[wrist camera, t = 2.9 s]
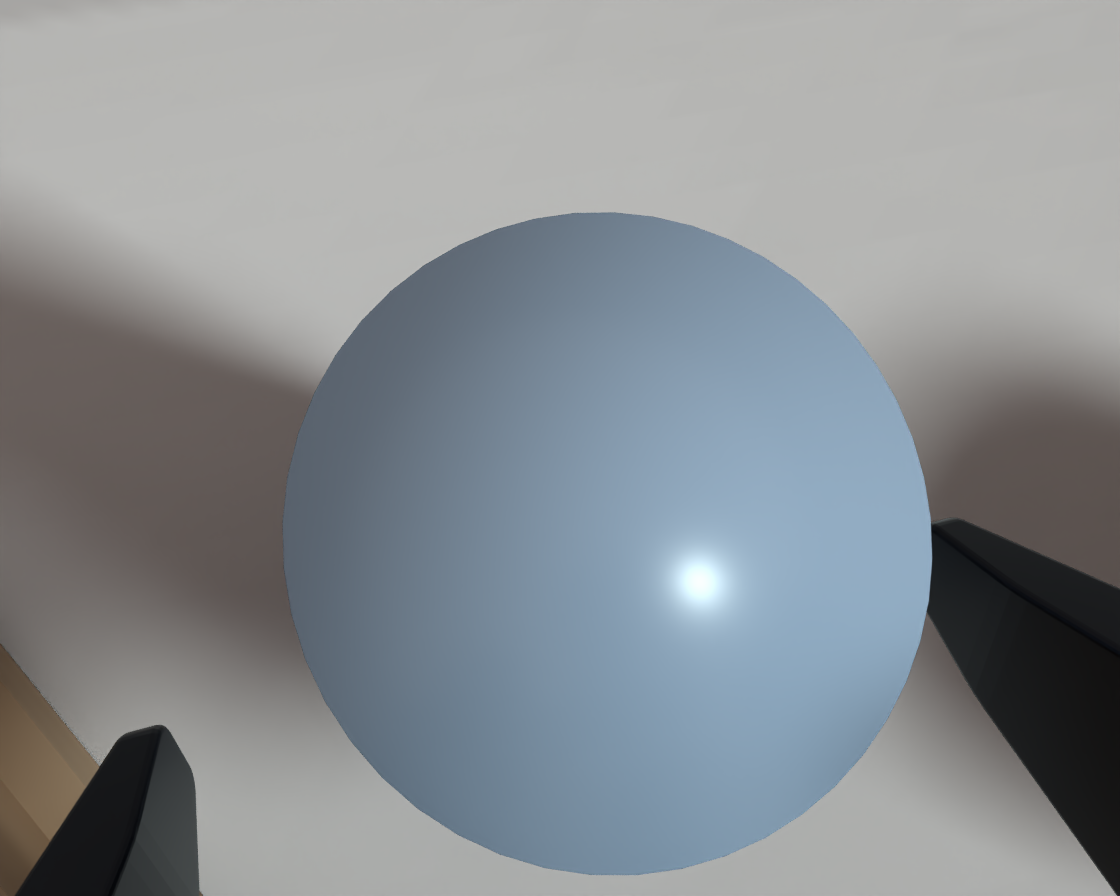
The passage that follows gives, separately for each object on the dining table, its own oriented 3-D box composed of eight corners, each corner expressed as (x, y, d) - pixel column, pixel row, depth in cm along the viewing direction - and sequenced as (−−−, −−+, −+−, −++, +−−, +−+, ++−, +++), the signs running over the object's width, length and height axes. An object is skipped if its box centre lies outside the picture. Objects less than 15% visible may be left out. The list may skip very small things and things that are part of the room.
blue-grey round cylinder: (612, 685, 18) (964, 853, 6) (388, 693, 17) (266, 898, 5) (605, 468, 19) (900, 225, 7) (391, 467, 18) (296, 197, 6)
